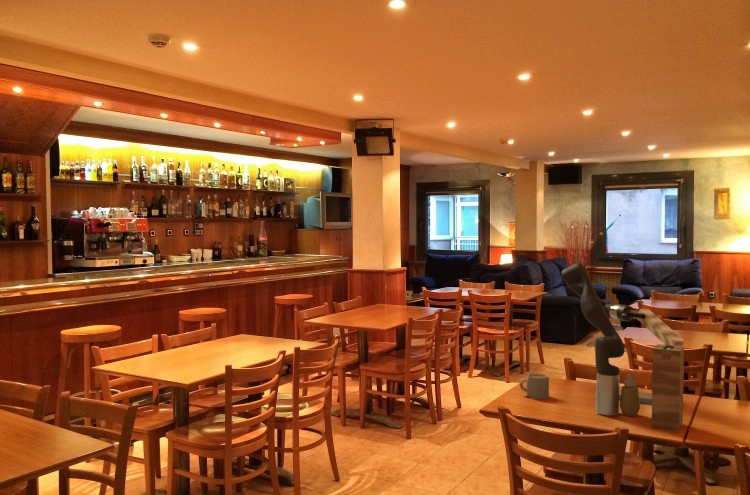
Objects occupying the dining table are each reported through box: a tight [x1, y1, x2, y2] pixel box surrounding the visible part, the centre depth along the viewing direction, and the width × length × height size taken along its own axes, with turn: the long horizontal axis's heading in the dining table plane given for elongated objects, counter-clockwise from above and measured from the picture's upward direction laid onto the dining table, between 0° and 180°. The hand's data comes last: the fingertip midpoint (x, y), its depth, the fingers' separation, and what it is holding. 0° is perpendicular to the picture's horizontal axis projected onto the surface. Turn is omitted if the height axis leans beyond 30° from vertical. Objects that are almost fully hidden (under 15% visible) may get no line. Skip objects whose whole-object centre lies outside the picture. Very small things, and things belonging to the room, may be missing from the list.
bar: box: [637, 308, 685, 346], centre depth 284 cm, size 24×5×5 cm, turn 21°
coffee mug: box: [519, 372, 550, 400], centre depth 301 cm, size 13×10×10 cm
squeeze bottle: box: [619, 372, 641, 417], centre depth 271 cm, size 8×8×18 cm
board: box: [619, 389, 652, 406], centre depth 293 cm, size 26×11×2 cm, turn 58°
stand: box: [651, 343, 685, 433], centre depth 255 cm, size 12×10×32 cm
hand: (649, 316), depth 289 cm, fingers closed on bar, 5 cm apart
